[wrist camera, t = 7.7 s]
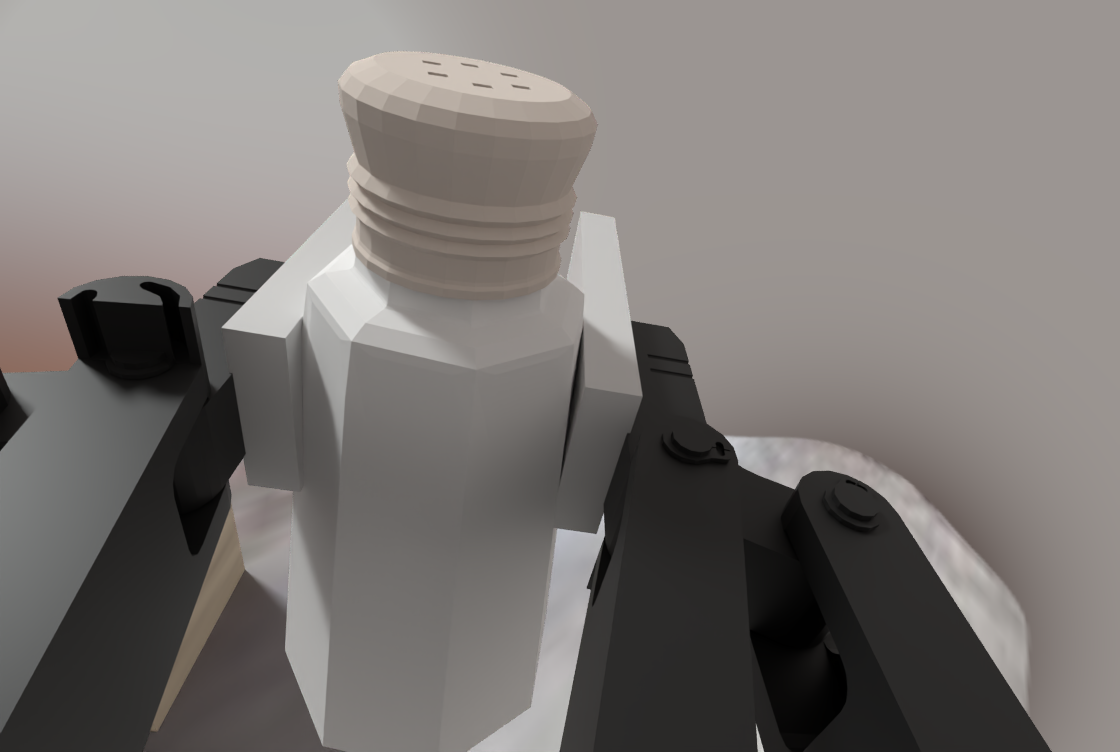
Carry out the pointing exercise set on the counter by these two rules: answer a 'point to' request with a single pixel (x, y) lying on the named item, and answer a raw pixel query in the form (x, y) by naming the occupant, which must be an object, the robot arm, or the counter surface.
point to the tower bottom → (205, 611)
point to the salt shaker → (436, 405)
